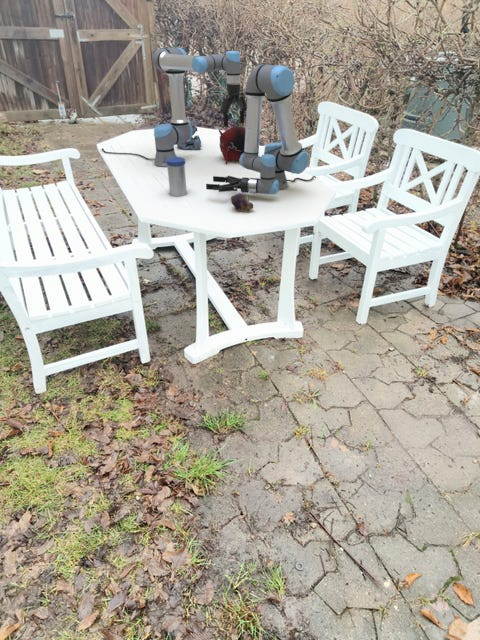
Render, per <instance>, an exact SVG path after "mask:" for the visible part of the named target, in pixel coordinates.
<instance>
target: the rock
mask: <svg viewBox="0 0 480 640" xmlns="http://www.w3.org/2000/svg"><path fill="white" fill-rule="evenodd" d="M230 201H231V205H233V206H234V209H235V210H237V211H250V210H253V209H254V204H253V202H250V200H249V195H248V194H247V193H245V192H238V193H236V194H234V195H232V196H231V197H230Z"/></svg>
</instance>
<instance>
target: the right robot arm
mask: <svg viewBox="0 0 480 640" xmlns="http://www.w3.org/2000/svg"><path fill="white" fill-rule="evenodd" d="M294 85H295V75H294V72H293V71H292V70H291V69H290V68H289V67H288V66H285V65H281V64H277V65H276V64H275V65H274V64H266V63H260V64H258V65H256V66H255V67H254V68H253V69H252V70H251V71H250V73H249V75H248V78H247V81H246V85H245V94H244V97H246V105H247V109H246V111H245V128H246V129H245V147H244V153H243V154H242V155H241V157H240V159H239V161H238V162H239V165H240V167H242V168H244V169H246V170H249V171H254V172H257V173H259V177H242V178H241V177H235V176H233V175H232V176H231V175H227V176H216V175H213V176H212V181H213V183H205V187H206V188H205V190H209V191H211V190H212V191H218V193H225V192H238V190H240V193H246V194H247V193H249V194H253V195H255V194H260V195H261V194H262V195H277V194H278V192H279V190H283V189H286V188H288V182H291V183H294V182H295V181H296V180H300V181H304V182H310V181H312V180H313V179H317V176H316V175H313V176H312V177H311V178H310V179H305V178H302V177H301V178H300V177H295V178H293V180H292V179H287V176H286V172H287V173H291V174H296V175H300V174H302V173H303V172H304V171H305V170H306V169H307V167H308V165H309V161H310V156H309V153H308V152H307V151H305V150H304V149H303V145H302V143H301V142H300V141H299V139H298V135H297V130H296V125H295V120H294V115H293V110H292V104H291V99H290V97H291V96H292V95H293V93H292V92H293V90H294ZM265 97H266V98H267V101H268V102H269V103H270V104H271V106H272V110H273V114H274V120H275V123H276V127H277V131H278V136H279V139H280V141H279V142H278V141H277V142H271V143H267V144H265V146H264V152H263V154H262V155H260V156H259V154H260V152H259V151H260V138H261V126H262V125H261V124H262V111H263V101H264V98H265ZM215 183H216V184H215ZM217 183H218V184H217ZM220 183H224V184H220ZM312 235H313V236H314V235H315V232H313V233H312Z"/></svg>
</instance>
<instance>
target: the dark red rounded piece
mask: <svg viewBox="0 0 480 640" xmlns="http://www.w3.org/2000/svg"><path fill="white" fill-rule="evenodd" d="M245 129H246V127H243V126H232V127H230V128H228V129H226V130H224V131H222V130H220V129H218V133H219V135H220V136H219V150H220V152H221V154H222V157H223V158H224V160H225V165H227V164H228V161H230V162H239V159H240V157H241V155H242V154H243V153H244V147H245Z"/></svg>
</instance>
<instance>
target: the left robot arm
mask: <svg viewBox="0 0 480 640" xmlns="http://www.w3.org/2000/svg"><path fill="white" fill-rule="evenodd" d="M151 61H152V64H153V67H154V68H155V69H157V70H158V71H161V72H165V74H166V75H167V76H168V83H169V95H170V107H171V120H170V121H169V123H161V124H158V125H156V126H155V127H154V129H153V136H154V145H155V155H154V158H148V157H146V156H145V155H141V154H139V153H131V152H112V151H105V149H104V148H101V151H103V152H104V153H106V154H113V155H114V154H115V155H116V154H118V155H132V156H133V155H134V156H139V157H141V158H144V159H145V160H150V161H154V165H155V166H157V167H163V168H164V167H165V168H167V164H166V159H168V158H173V157H177V153H176V151H175V145H176V146H177V144H180V143H185V142H188V141H189V140H190V139H191V138H192V137H193V136H194V135H193V129H192V127H191V125H190V124H189V123H188V120H187V119H186V118H187V117H186V116H187V115H186V103H185V90H184V88H185V87H184V75H185V74H186V71H187V72H194V73H196V74H203V73H210V72H218V71H222V72H226V91H227V94H223V99H222V103H221V108H220V111H219V114H221V115H222V120H223V127H224V128H229V114H228V113H229V110H230V108H231V106H232V105H233V104H234V103H236V104H237V107H238V108H239V109H240V110H239V123H240V124H245V118H246V112H247V101H246V99H245V94H244V92H243V91H241V52H240V51H238V50H228V51H226V53H225V54H219V53H216V54H215V53H214V54H211V55H189V54H187V52H186V51H185V50H184V49H183V48H182V47H180V46H179V47H176V46H175V47H162V48H158V49H156V50H155V51H154V52H153V54H152V59H151ZM192 135H193V136H192Z"/></svg>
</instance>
